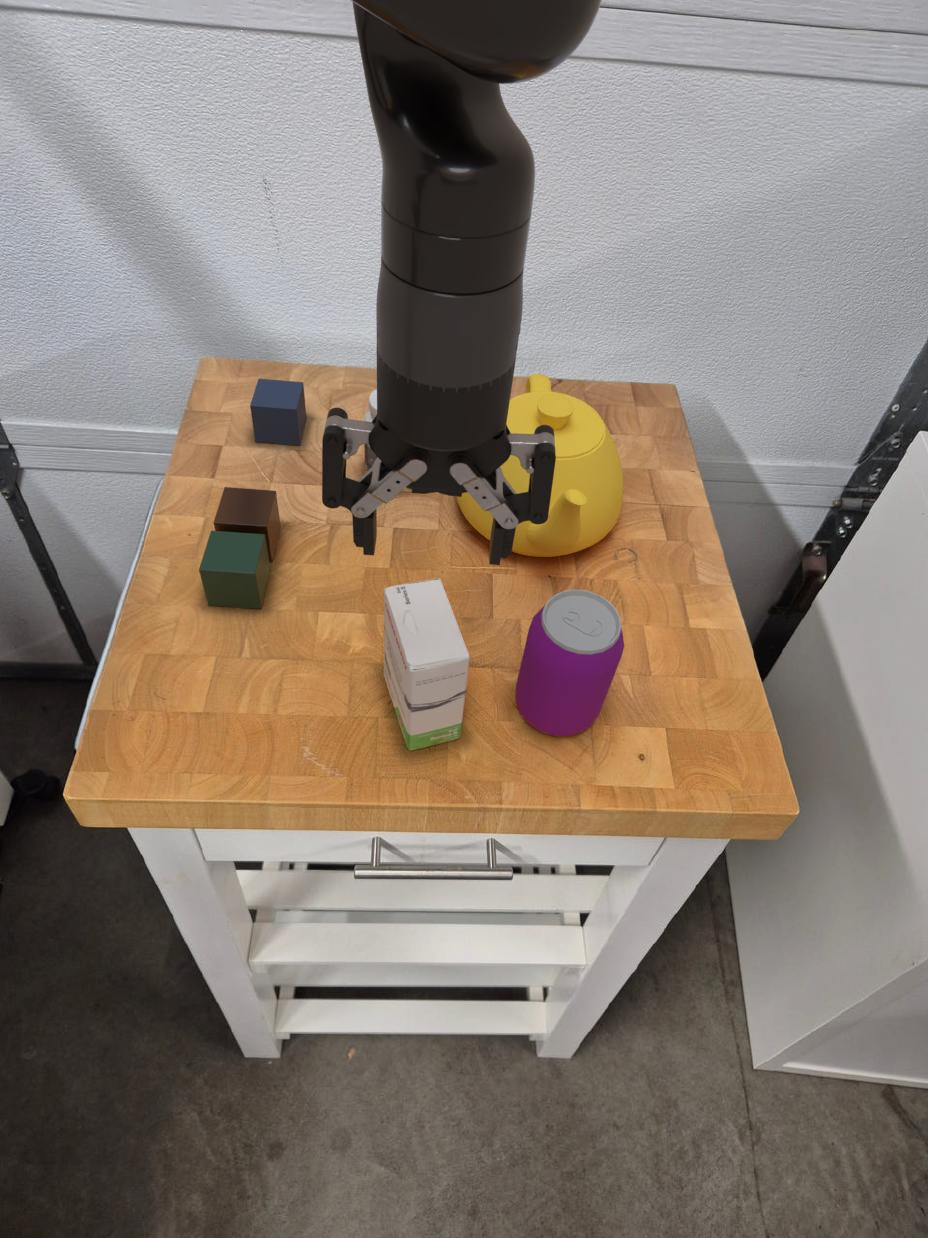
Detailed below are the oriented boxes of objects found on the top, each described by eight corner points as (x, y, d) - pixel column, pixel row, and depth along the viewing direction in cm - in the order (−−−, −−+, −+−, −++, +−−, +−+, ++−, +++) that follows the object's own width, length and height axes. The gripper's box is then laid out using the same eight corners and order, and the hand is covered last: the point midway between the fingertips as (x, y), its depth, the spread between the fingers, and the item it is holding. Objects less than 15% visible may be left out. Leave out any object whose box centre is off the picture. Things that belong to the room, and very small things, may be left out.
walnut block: (221, 559, 80) (213, 522, 76) (231, 523, 83) (224, 486, 79) (272, 562, 80) (267, 526, 76) (280, 527, 83) (276, 490, 80)
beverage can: (498, 717, 71) (516, 632, 62) (534, 656, 76) (556, 568, 66) (579, 756, 69) (610, 674, 60) (611, 691, 74) (644, 606, 64)
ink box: (462, 740, 69) (474, 658, 60) (405, 753, 68) (409, 671, 59) (434, 660, 74) (441, 574, 65) (381, 671, 73) (381, 585, 64)
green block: (207, 605, 76) (198, 569, 72) (219, 566, 79) (210, 530, 76) (261, 609, 76) (255, 573, 73) (270, 570, 80) (265, 533, 76)
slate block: (255, 442, 91) (249, 405, 88) (263, 414, 95) (258, 377, 91) (300, 445, 92) (296, 409, 88) (306, 418, 95) (303, 381, 91)
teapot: (640, 604, 81) (679, 502, 70) (462, 605, 79) (475, 500, 68) (596, 442, 96) (623, 338, 86) (447, 439, 94) (455, 333, 84)
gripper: (302, 370, 41) (321, 584, 53) (584, 393, 41) (537, 600, 54) (322, 292, 45) (335, 506, 58) (575, 314, 46) (534, 521, 59)
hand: (432, 551), depth 56 cm, fingers open, 8 cm apart
